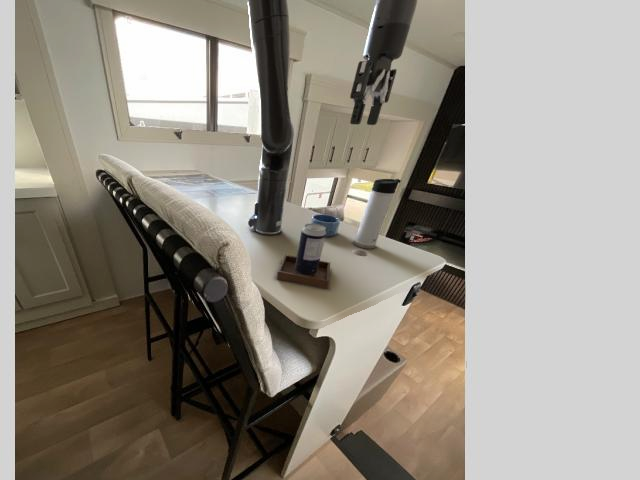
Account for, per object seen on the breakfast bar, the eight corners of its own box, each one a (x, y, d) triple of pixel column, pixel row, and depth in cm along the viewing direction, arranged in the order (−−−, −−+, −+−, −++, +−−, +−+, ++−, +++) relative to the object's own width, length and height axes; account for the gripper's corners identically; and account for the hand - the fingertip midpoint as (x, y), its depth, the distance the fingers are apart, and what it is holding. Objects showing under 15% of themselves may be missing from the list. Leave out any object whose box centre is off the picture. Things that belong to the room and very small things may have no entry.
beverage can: (319, 271, 66) (330, 226, 59) (312, 280, 62) (323, 233, 55) (298, 265, 68) (307, 221, 61) (290, 273, 64) (298, 227, 57)
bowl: (308, 234, 88) (311, 220, 85) (310, 226, 95) (313, 212, 92) (336, 238, 86) (339, 224, 83) (336, 229, 93) (340, 216, 90)
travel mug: (377, 250, 79) (404, 181, 68) (355, 247, 80) (378, 179, 69) (373, 242, 84) (397, 177, 73) (352, 240, 85) (373, 175, 74)
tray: (276, 278, 63) (277, 271, 61) (283, 261, 71) (285, 254, 69) (326, 288, 60) (328, 281, 59) (328, 269, 68) (330, 262, 66)
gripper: (385, 36, 56) (361, 124, 66) (355, 20, 48) (333, 123, 58) (421, 31, 52) (391, 126, 62) (395, 12, 44) (365, 124, 53)
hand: (363, 124), depth 60 cm, fingers open, 8 cm apart
